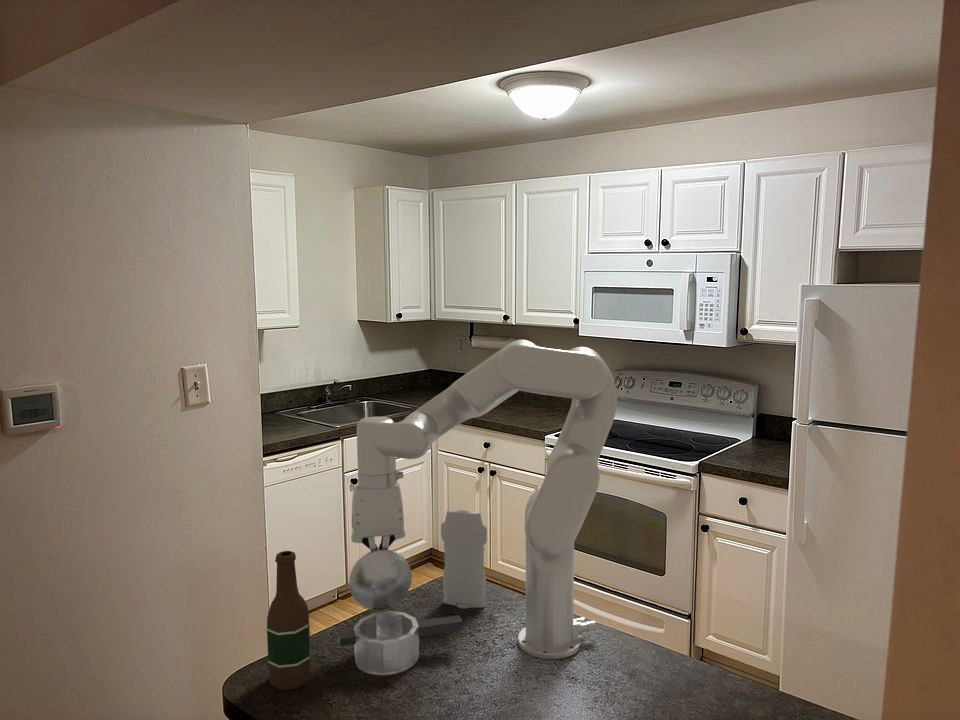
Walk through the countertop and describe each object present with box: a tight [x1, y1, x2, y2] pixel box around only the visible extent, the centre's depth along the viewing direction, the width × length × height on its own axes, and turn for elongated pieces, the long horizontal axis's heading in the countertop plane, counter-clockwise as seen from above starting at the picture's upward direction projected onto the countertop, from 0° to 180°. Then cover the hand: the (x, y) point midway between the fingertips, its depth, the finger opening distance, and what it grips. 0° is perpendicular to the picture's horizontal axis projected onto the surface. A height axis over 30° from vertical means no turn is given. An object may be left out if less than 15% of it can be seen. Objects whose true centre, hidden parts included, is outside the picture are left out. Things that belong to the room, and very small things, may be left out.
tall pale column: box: [440, 509, 488, 609], centre depth 154 cm, size 11×4×22 cm, turn 77°
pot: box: [338, 608, 464, 677], centre depth 134 cm, size 24×13×6 cm, turn 106°
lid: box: [348, 549, 413, 611], centre depth 139 cm, size 12×12×3 cm
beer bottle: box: [266, 550, 312, 691], centre depth 125 cm, size 8×8×24 cm
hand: (379, 567), depth 140 cm, fingers closed
